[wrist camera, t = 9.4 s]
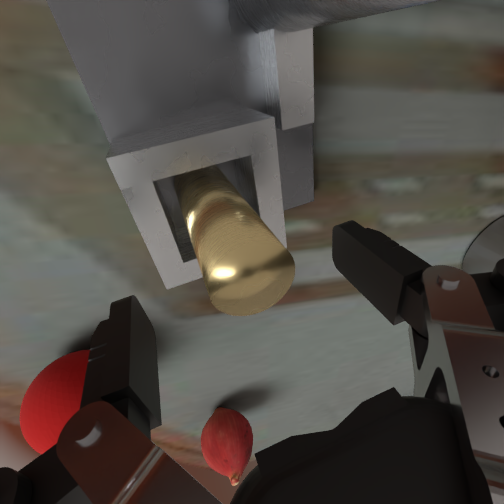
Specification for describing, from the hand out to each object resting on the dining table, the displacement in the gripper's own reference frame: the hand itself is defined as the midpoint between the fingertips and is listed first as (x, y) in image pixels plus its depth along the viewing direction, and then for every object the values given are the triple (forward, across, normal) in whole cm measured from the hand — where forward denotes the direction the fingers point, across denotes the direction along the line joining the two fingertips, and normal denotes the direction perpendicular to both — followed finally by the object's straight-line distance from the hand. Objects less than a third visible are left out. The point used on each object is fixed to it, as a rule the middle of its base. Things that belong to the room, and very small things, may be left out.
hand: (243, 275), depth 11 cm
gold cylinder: (+9, 0, -1) cm, 9 cm away
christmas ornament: (+10, +13, +12) cm, 20 cm away
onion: (+11, +5, +28) cm, 30 cm away
